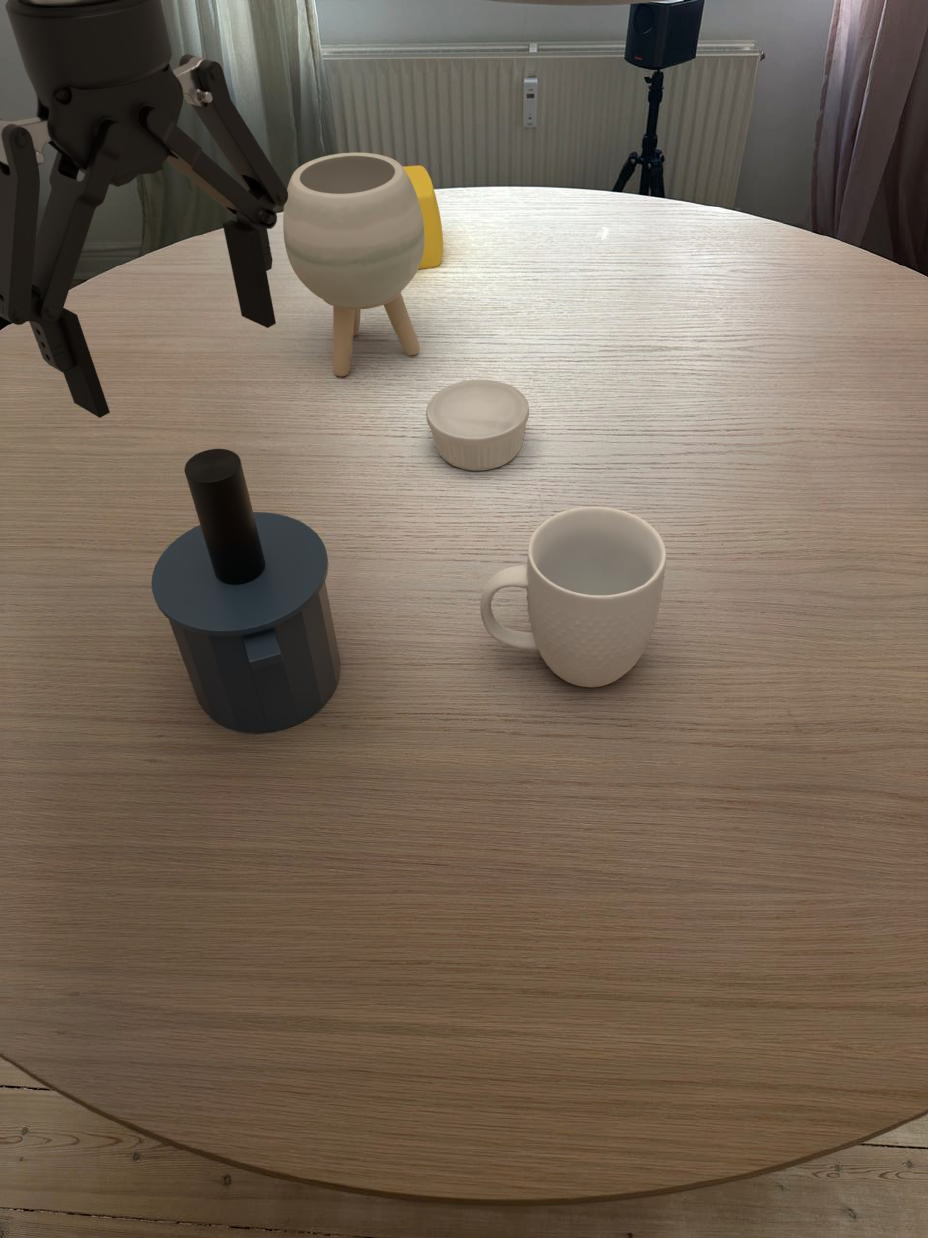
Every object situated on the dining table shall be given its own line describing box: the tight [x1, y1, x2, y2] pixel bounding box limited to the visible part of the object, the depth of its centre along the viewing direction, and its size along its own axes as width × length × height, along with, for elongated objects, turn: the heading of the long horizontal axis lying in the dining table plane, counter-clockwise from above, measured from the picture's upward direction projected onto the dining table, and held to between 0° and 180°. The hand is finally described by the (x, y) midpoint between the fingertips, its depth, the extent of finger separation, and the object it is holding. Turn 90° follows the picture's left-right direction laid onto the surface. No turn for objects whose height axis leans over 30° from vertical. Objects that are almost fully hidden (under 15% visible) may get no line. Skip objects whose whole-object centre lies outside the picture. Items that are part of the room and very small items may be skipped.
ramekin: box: [425, 379, 530, 472], centre depth 108 cm, size 11×11×5 cm
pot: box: [168, 582, 341, 734], centre depth 82 cm, size 13×18×12 cm
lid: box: [150, 448, 329, 636], centre depth 74 cm, size 14×14×11 cm
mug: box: [479, 506, 667, 688], centre depth 82 cm, size 15×11×13 cm
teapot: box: [402, 164, 444, 270], centre depth 139 cm, size 20×12×12 cm, turn 9°
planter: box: [282, 152, 425, 378], centre depth 116 cm, size 16×16×22 cm
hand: (180, 361), depth 64 cm, fingers open, 13 cm apart
